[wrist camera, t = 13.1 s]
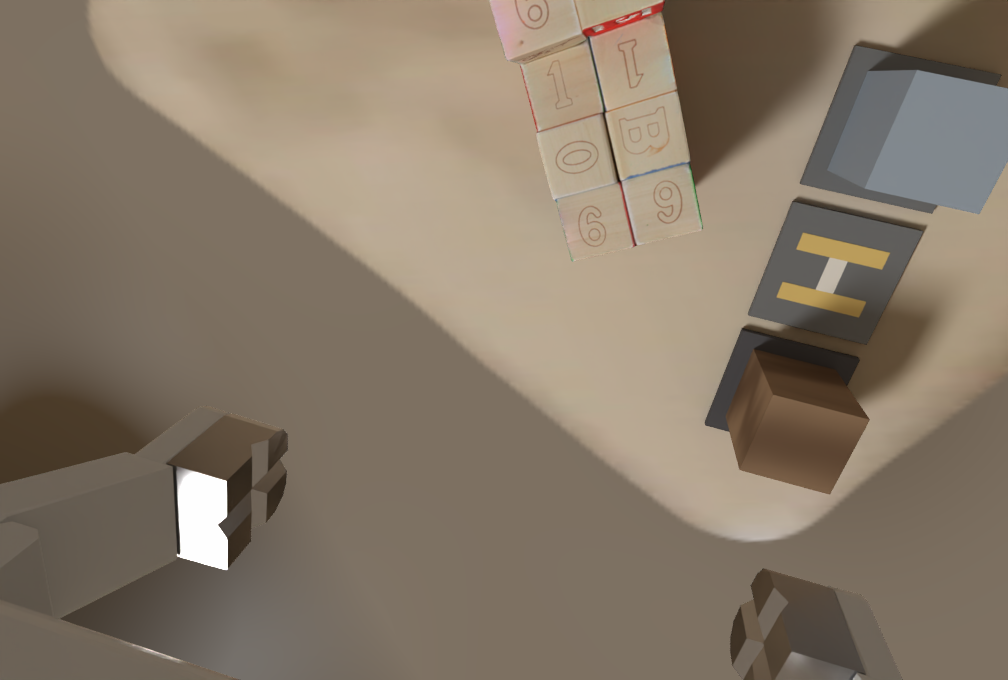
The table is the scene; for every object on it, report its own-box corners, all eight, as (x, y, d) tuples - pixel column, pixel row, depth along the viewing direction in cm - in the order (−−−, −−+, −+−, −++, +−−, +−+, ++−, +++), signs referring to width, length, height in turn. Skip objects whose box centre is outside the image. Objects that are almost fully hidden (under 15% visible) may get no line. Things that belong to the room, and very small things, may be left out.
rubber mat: (741, 328, 38) (743, 330, 37) (857, 357, 37) (859, 359, 37) (704, 422, 41) (705, 425, 40) (811, 450, 40) (812, 453, 40)
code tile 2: (854, 45, 31) (856, 45, 31) (998, 74, 30) (1002, 74, 30) (799, 183, 34) (801, 184, 34) (929, 212, 33) (932, 213, 33)
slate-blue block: (867, 71, 31) (917, 69, 25) (970, 92, 30) (1042, 95, 25) (827, 170, 33) (864, 188, 28) (922, 191, 32) (979, 214, 27)
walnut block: (753, 348, 38) (773, 394, 32) (835, 369, 37) (869, 419, 32) (725, 416, 40) (739, 469, 34) (803, 436, 39) (829, 494, 34)
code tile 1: (792, 200, 34) (793, 202, 34) (920, 230, 34) (923, 231, 33) (747, 313, 37) (748, 315, 37) (864, 342, 37) (866, 344, 36)
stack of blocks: (687, 196, 35) (712, 251, 24) (582, 222, 37) (560, 285, 26) (604, -254, 28) (585, -466, 17) (479, -195, 30) (389, -353, 19)
